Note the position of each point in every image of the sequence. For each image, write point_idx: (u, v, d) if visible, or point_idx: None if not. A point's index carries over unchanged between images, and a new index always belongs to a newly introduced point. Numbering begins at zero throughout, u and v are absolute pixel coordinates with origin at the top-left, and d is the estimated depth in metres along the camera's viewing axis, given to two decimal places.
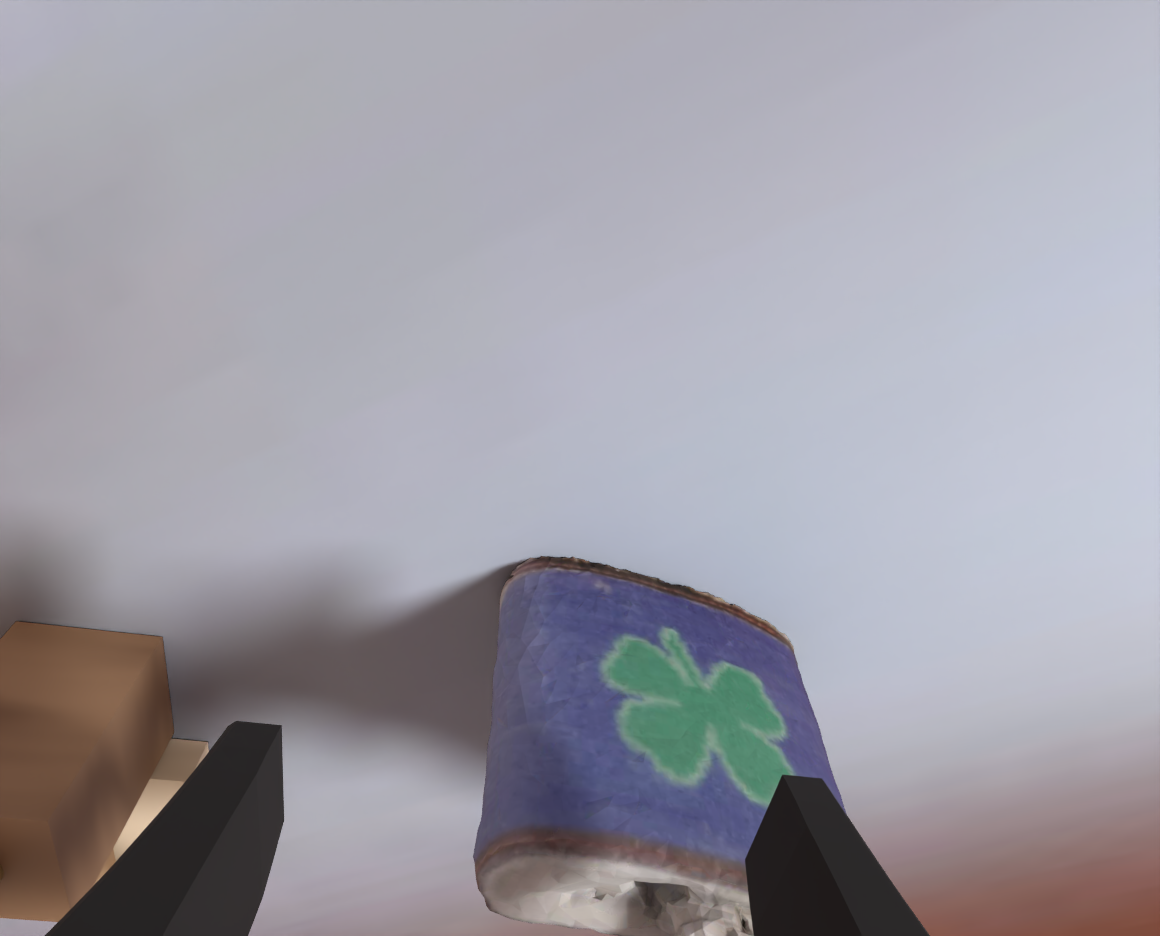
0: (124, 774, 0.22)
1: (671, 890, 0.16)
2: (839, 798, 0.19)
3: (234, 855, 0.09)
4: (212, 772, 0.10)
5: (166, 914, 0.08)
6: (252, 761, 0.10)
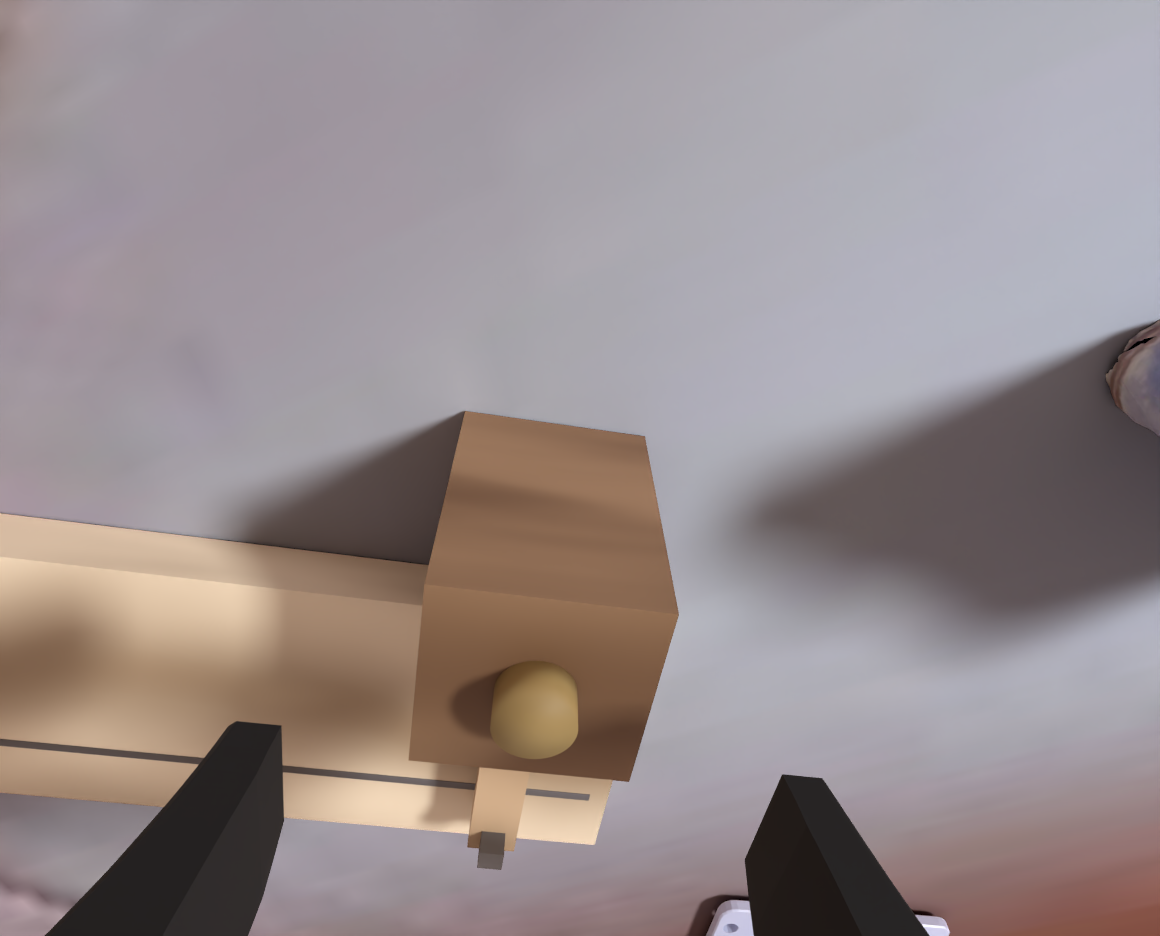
0: None
1: None
2: None
3: (234, 855, 0.09)
4: (212, 772, 0.10)
5: (166, 914, 0.08)
6: (252, 761, 0.10)
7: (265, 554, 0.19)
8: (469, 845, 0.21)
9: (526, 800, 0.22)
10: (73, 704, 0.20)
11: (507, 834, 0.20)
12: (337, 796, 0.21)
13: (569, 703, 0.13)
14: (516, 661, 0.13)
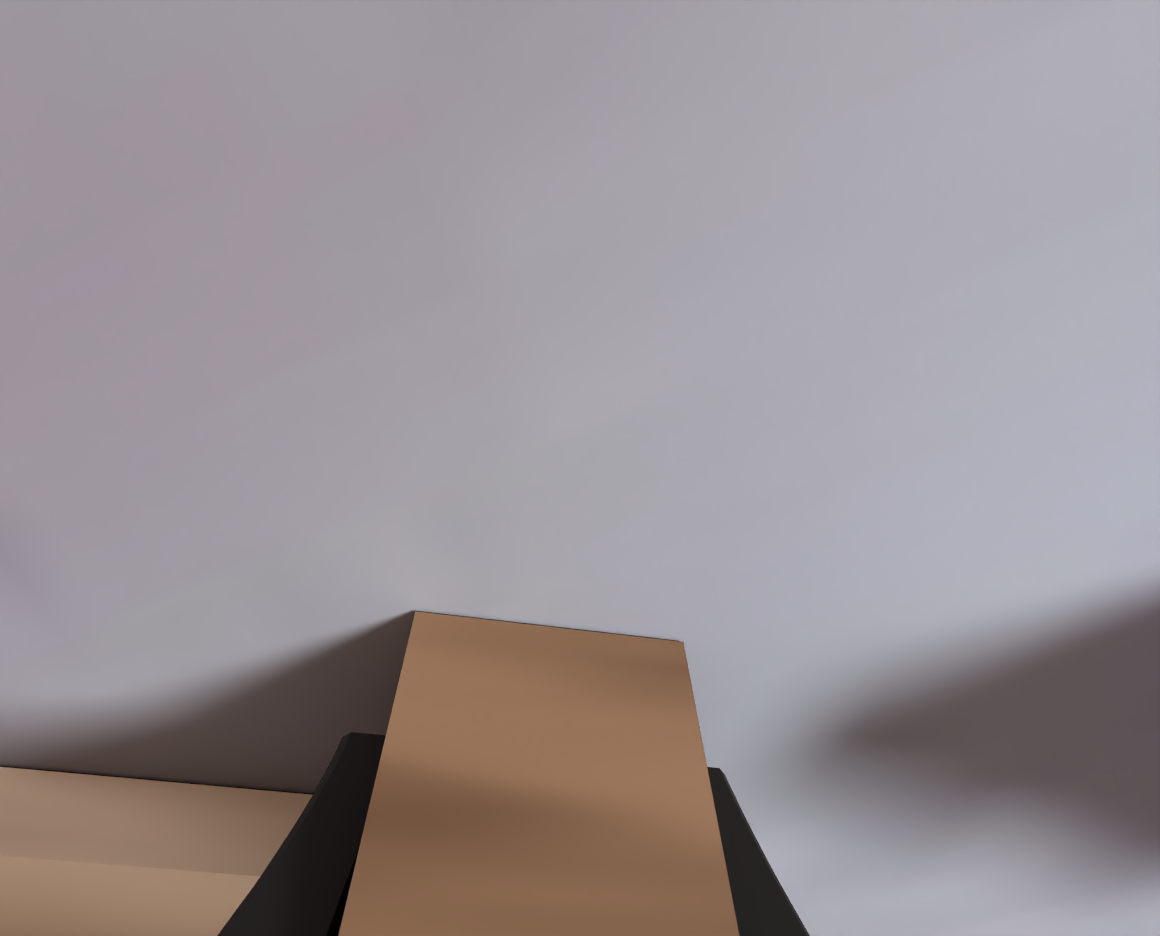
0: None
1: None
2: None
3: None
4: (339, 784, 0.10)
5: (322, 925, 0.08)
6: (375, 772, 0.10)
7: (132, 797, 0.13)
8: None
9: None
10: None
11: None
12: None
13: None
14: None
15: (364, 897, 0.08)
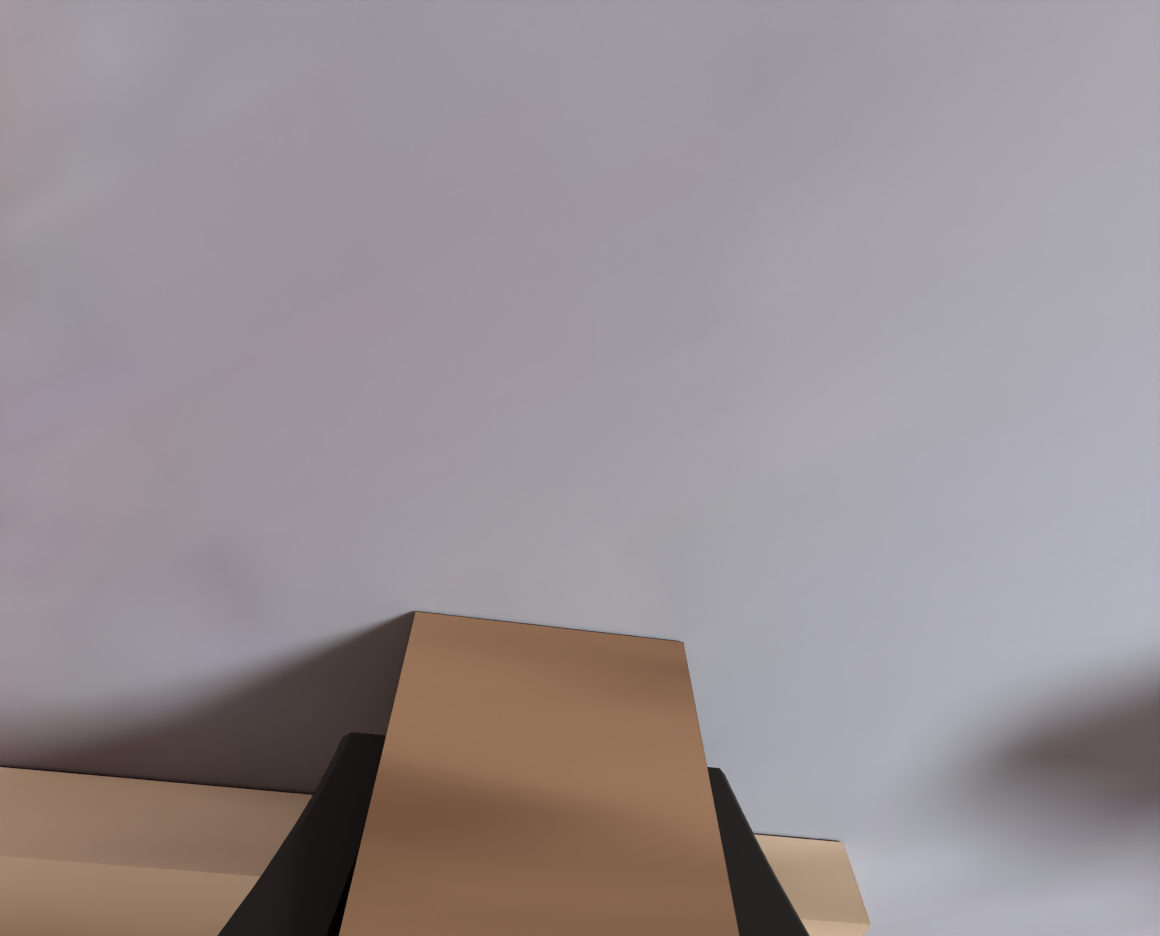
0: None
1: None
2: None
3: None
4: (339, 783, 0.10)
5: (322, 925, 0.08)
6: (375, 772, 0.10)
7: None
8: None
9: None
10: None
11: None
12: None
13: None
14: None
15: (365, 897, 0.08)
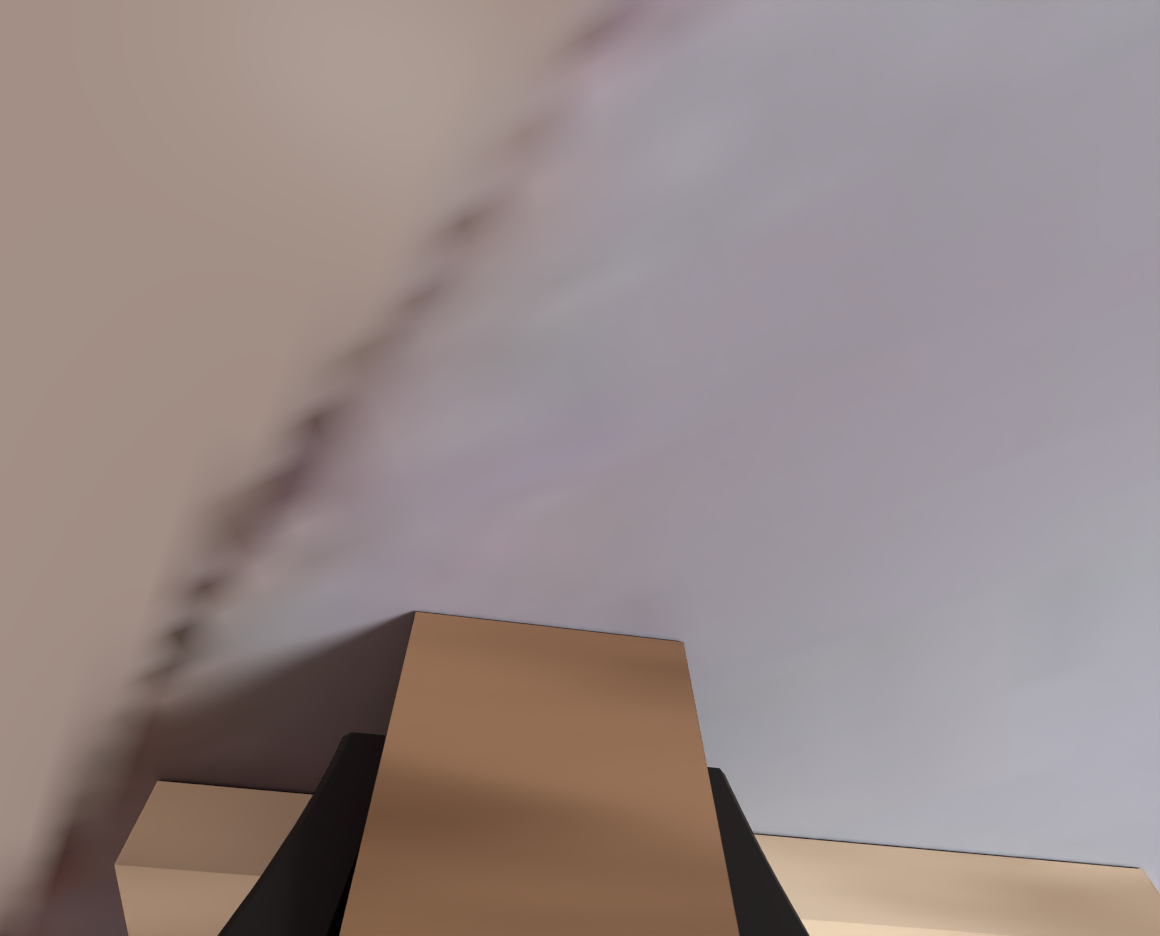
0: None
1: None
2: None
3: None
4: (339, 783, 0.10)
5: (322, 925, 0.08)
6: (375, 772, 0.10)
7: None
8: None
9: None
10: None
11: None
12: None
13: None
14: None
15: (365, 897, 0.08)
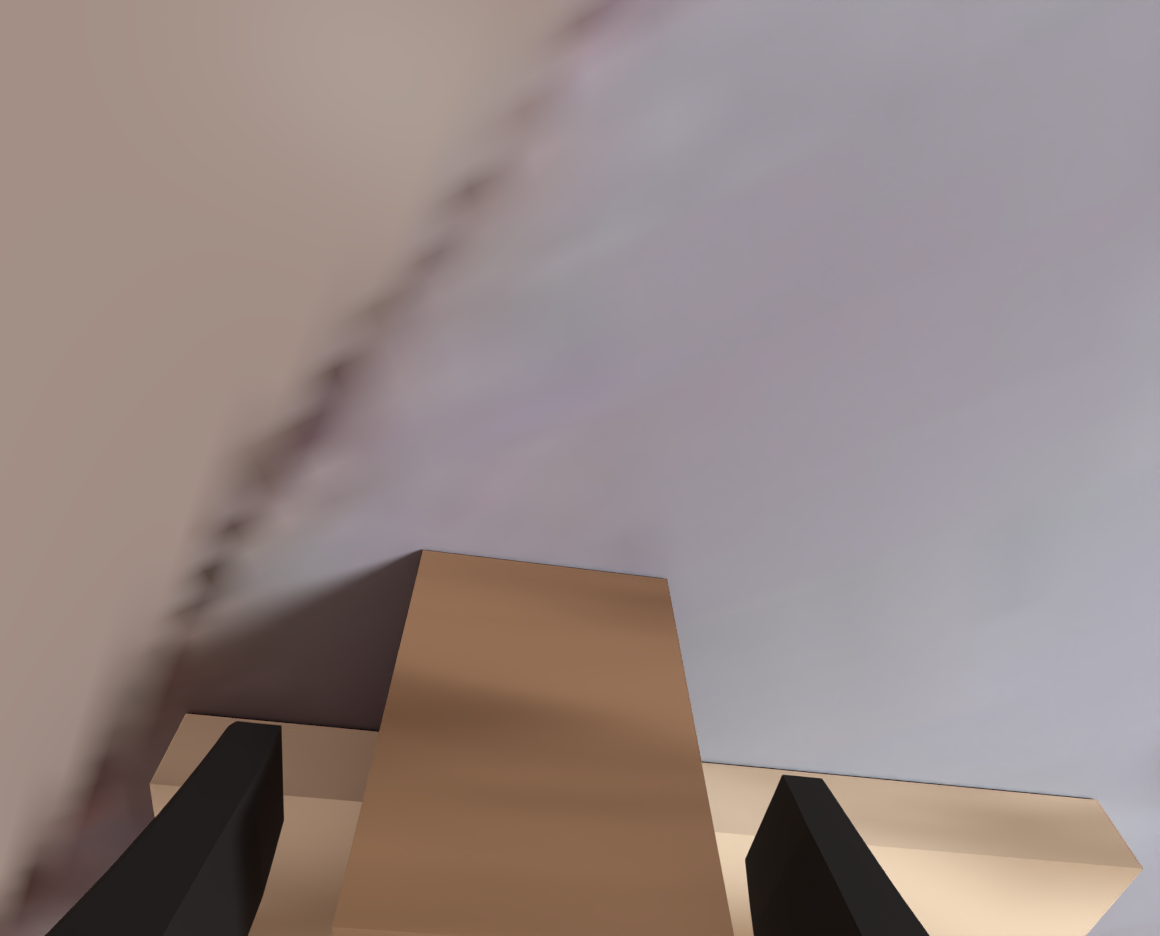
0: None
1: None
2: None
3: (234, 855, 0.09)
4: (212, 772, 0.10)
5: (166, 914, 0.08)
6: (252, 761, 0.10)
7: None
8: None
9: None
10: None
11: None
12: None
13: None
14: None
15: (383, 776, 0.09)
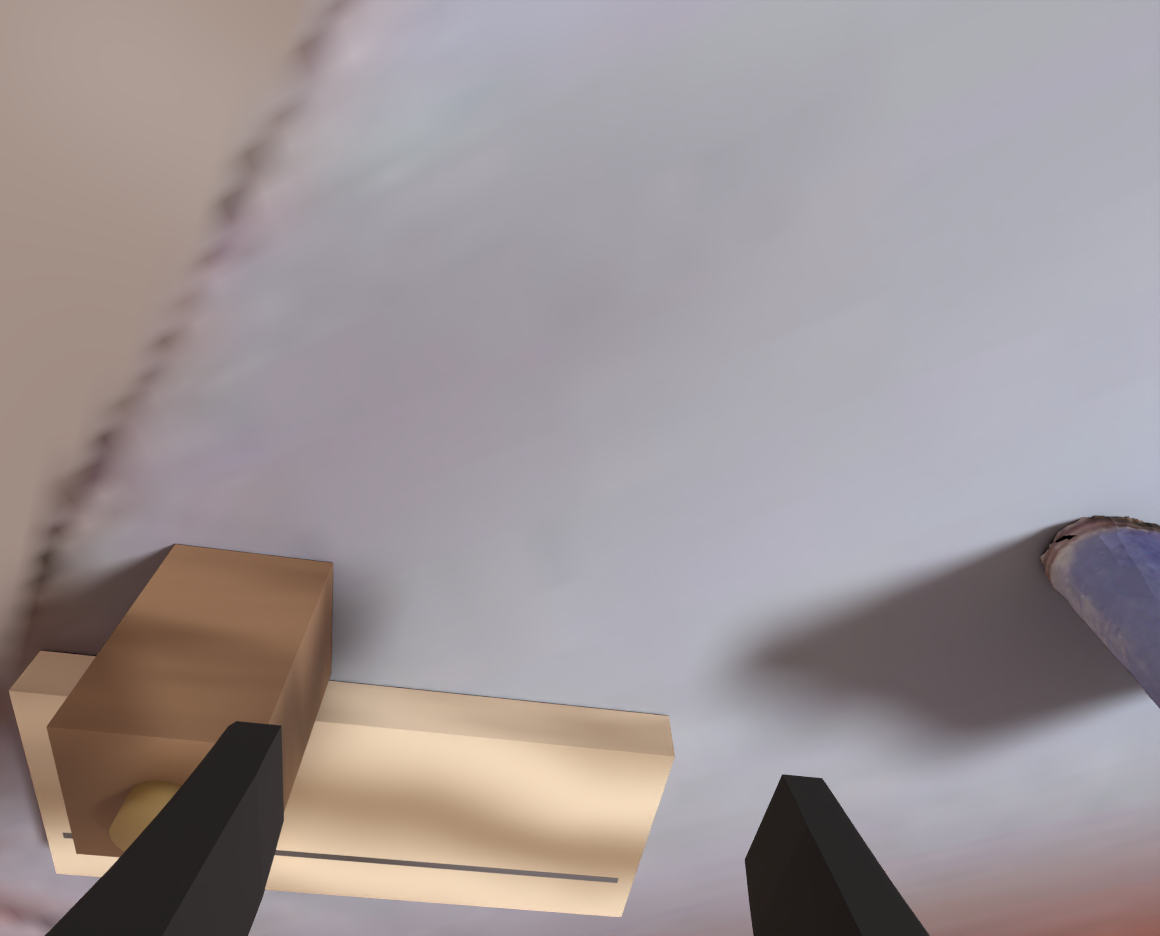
0: (302, 709, 0.20)
1: None
2: None
3: (234, 855, 0.09)
4: (212, 772, 0.10)
5: (166, 914, 0.08)
6: (252, 761, 0.10)
7: (355, 692, 0.23)
8: None
9: (565, 882, 0.26)
10: None
11: None
12: (407, 880, 0.26)
13: None
14: (139, 781, 0.16)
15: (99, 663, 0.17)
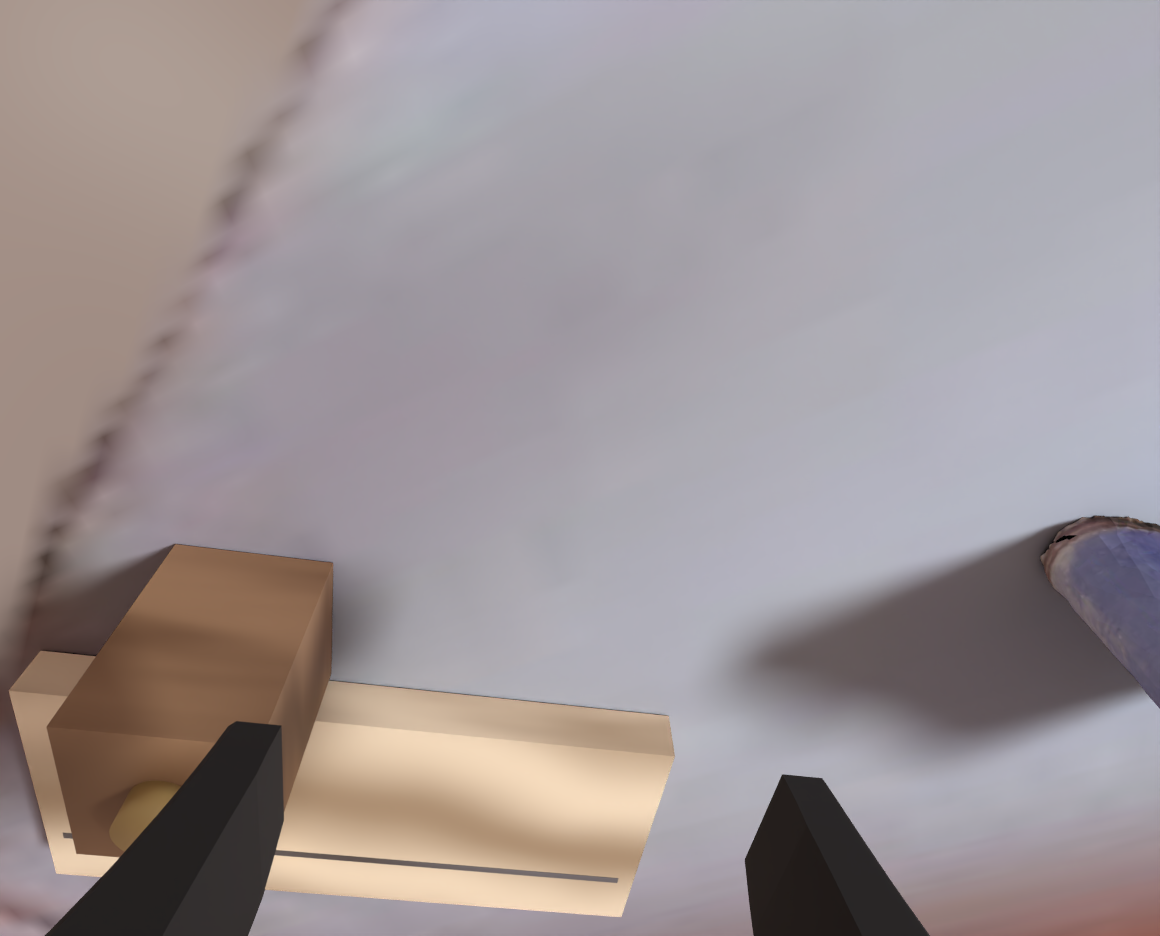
0: (302, 709, 0.20)
1: None
2: None
3: (234, 855, 0.09)
4: (212, 772, 0.10)
5: (166, 914, 0.08)
6: (252, 761, 0.10)
7: (355, 692, 0.23)
8: None
9: (565, 882, 0.26)
10: None
11: None
12: (407, 880, 0.26)
13: None
14: (139, 781, 0.16)
15: (99, 663, 0.17)
